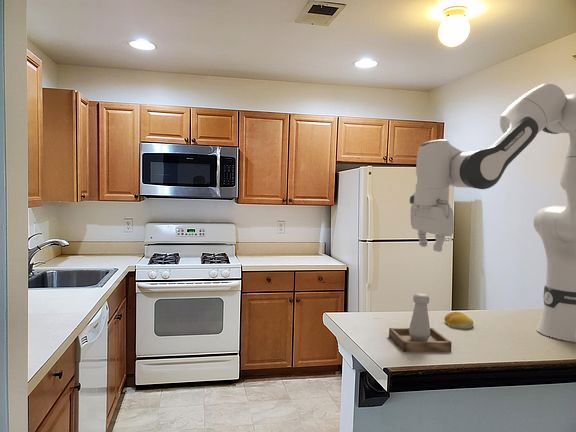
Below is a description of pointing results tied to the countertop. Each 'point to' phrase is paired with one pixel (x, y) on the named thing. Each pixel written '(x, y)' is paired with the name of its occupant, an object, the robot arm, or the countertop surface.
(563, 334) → the robot arm
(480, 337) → the countertop surface
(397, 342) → the tray
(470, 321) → the bread roll
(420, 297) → the salt shaker
